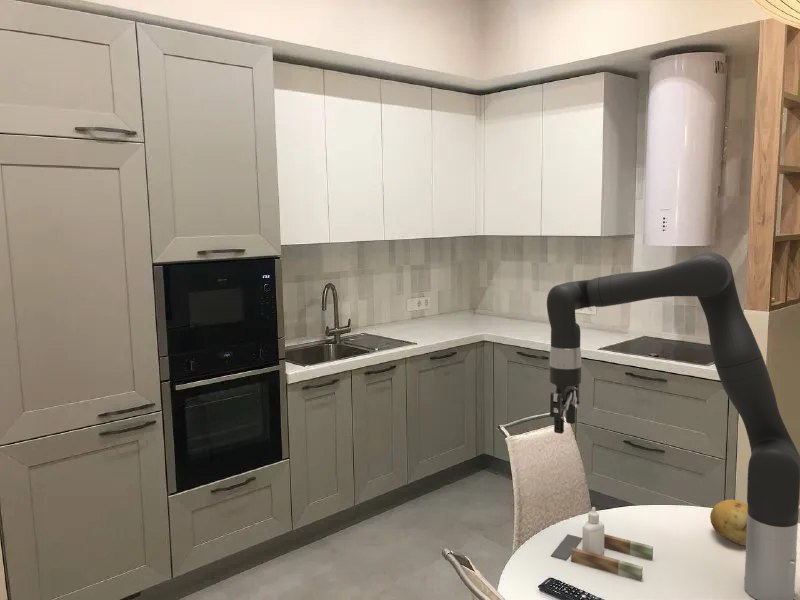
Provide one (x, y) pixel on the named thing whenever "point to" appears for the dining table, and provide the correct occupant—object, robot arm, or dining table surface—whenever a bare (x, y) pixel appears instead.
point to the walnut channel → (614, 564)
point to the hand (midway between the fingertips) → (565, 427)
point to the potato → (730, 520)
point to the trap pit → (566, 547)
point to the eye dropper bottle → (593, 534)
